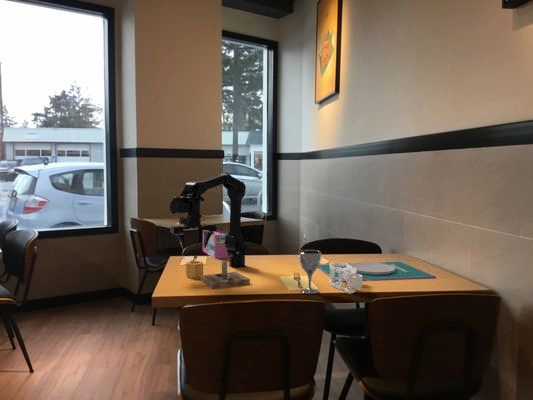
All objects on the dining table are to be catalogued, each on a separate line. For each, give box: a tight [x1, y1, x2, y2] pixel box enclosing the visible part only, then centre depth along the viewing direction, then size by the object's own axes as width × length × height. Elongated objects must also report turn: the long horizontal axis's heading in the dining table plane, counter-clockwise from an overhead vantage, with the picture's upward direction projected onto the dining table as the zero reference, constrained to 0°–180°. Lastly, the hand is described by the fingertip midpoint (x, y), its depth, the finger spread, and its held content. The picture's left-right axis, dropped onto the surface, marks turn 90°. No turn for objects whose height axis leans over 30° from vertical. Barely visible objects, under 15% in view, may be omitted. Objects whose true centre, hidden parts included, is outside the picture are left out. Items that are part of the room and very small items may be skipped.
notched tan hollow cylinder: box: [185, 260, 204, 279], centre depth 190 cm, size 7×7×6 cm
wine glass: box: [299, 249, 322, 295], centre depth 168 cm, size 8×8×15 cm
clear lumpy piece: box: [329, 261, 363, 294], centre depth 176 cm, size 20×11×7 cm, turn 179°
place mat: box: [317, 260, 437, 283], centre depth 204 cm, size 45×30×2 cm
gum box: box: [202, 229, 229, 260], centre depth 236 cm, size 22×7×13 cm, turn 26°
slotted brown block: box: [199, 260, 251, 290], centre depth 181 cm, size 16×14×8 cm
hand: (194, 249), depth 189 cm, fingers open, 9 cm apart
